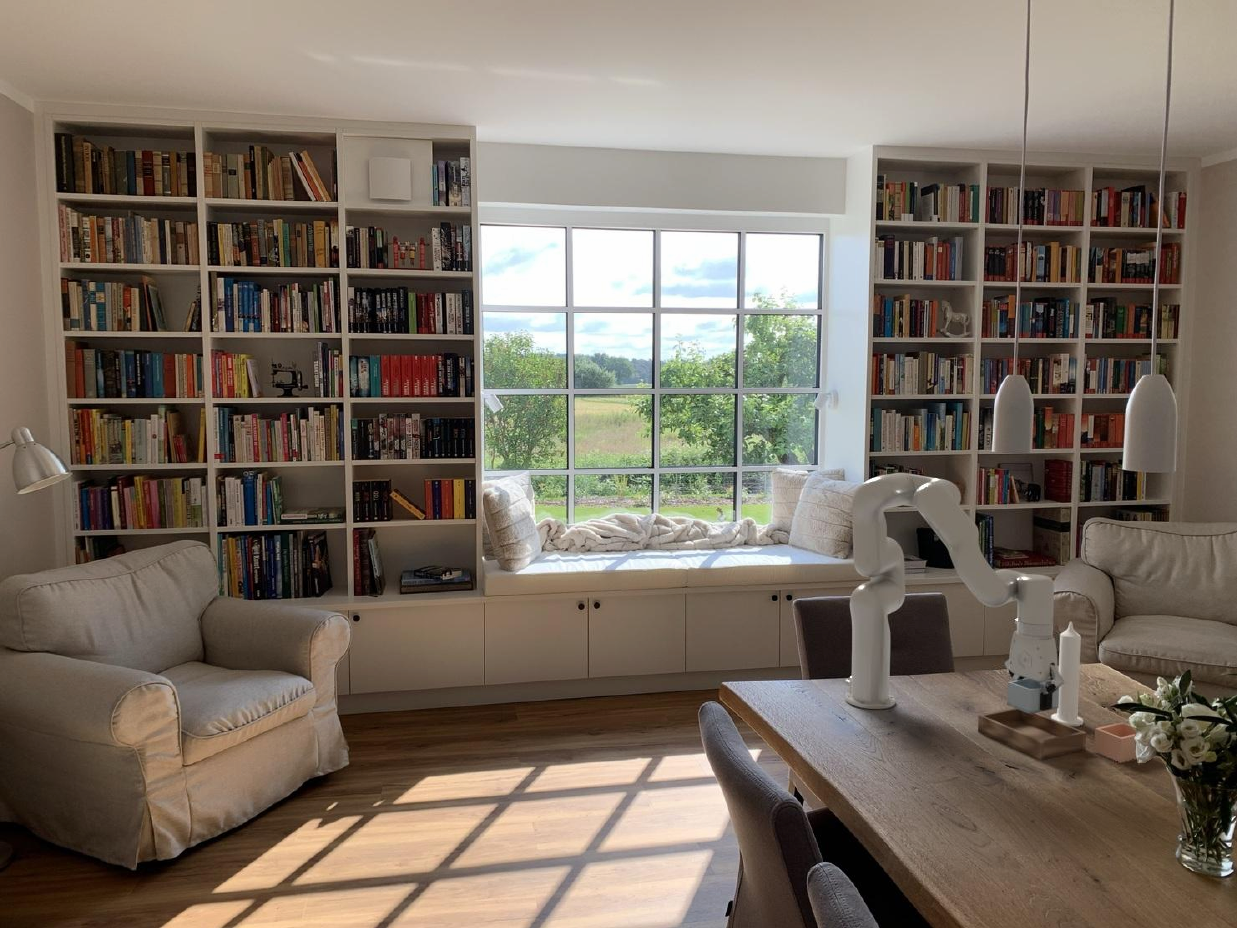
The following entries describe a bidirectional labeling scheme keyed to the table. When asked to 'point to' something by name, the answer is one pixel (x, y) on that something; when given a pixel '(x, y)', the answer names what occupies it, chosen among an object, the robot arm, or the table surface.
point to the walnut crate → (1032, 733)
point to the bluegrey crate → (1028, 696)
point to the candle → (1069, 678)
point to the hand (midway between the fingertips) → (1032, 703)
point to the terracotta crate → (1115, 742)
